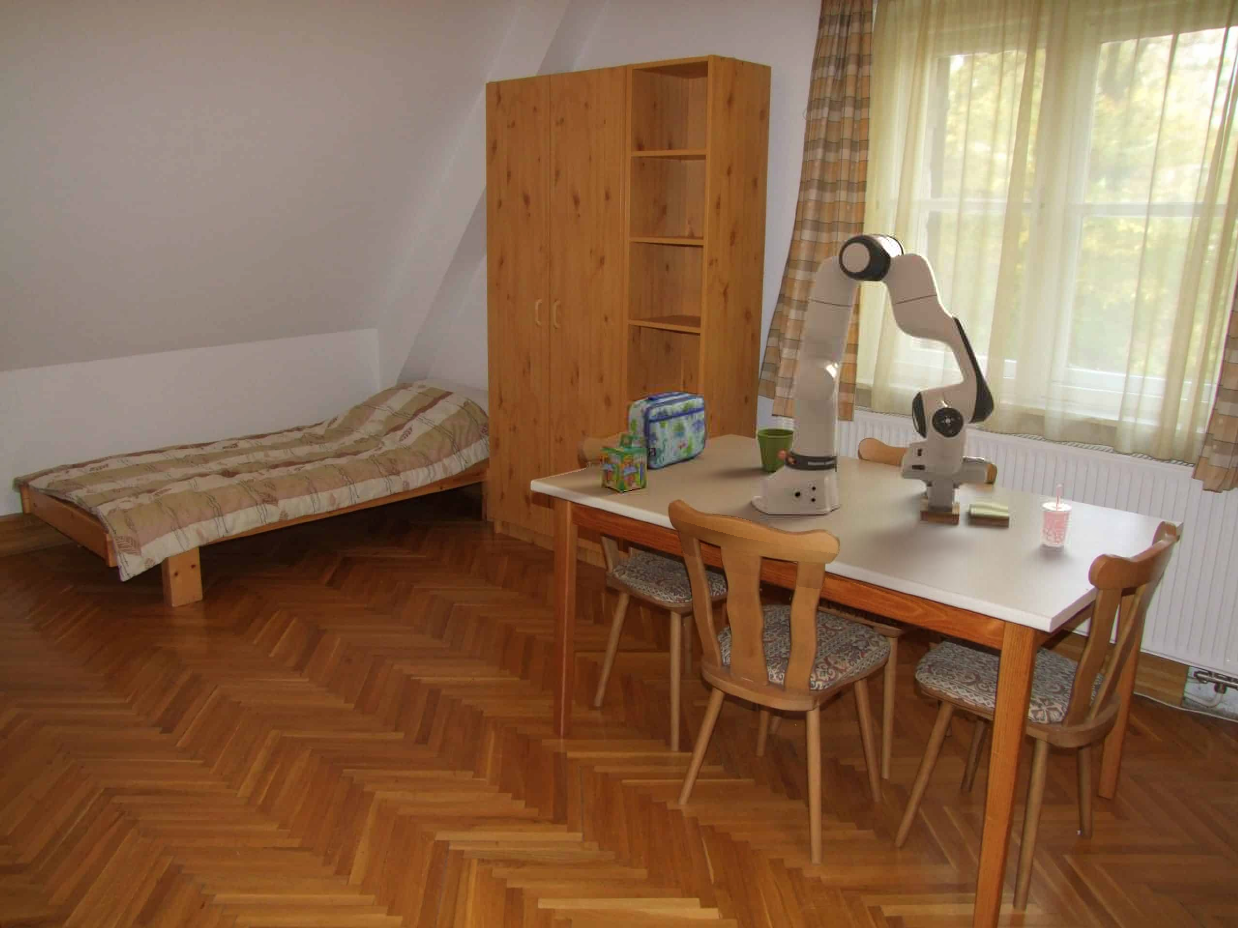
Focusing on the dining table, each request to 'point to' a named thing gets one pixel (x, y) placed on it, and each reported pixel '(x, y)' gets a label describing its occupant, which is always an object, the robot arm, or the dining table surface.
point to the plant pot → (774, 446)
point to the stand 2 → (989, 513)
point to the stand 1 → (940, 514)
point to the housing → (941, 496)
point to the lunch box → (669, 427)
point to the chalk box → (624, 465)
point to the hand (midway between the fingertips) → (942, 485)
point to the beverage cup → (1055, 522)
